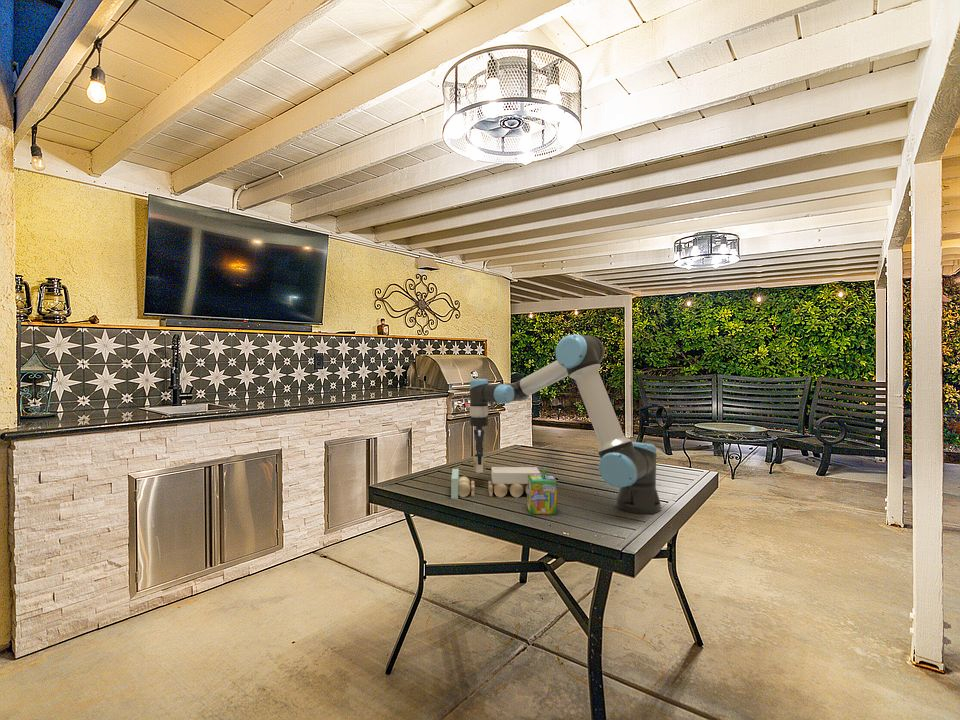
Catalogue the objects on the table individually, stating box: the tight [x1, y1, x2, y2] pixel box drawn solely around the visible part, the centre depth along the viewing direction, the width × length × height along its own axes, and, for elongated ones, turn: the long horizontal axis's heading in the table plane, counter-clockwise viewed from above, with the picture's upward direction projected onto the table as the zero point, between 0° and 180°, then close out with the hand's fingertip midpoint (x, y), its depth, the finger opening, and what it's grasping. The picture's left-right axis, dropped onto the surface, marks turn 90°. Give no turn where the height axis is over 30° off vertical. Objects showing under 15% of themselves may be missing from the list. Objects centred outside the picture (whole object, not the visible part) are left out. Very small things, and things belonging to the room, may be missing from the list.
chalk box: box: [526, 466, 558, 515], centre depth 169 cm, size 9×9×15 cm
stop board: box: [450, 468, 460, 500], centre depth 189 cm, size 16×2×8 cm, turn 2°
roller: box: [472, 456, 487, 473], centre depth 203 cm, size 11×5×5 cm, turn 2°
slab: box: [490, 466, 542, 485], centre depth 189 cm, size 10×18×4 cm, turn 92°
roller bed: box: [458, 476, 528, 498], centre depth 189 cm, size 11×31×5 cm, turn 92°
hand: (479, 469), depth 203 cm, fingers closed on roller, 11 cm apart
